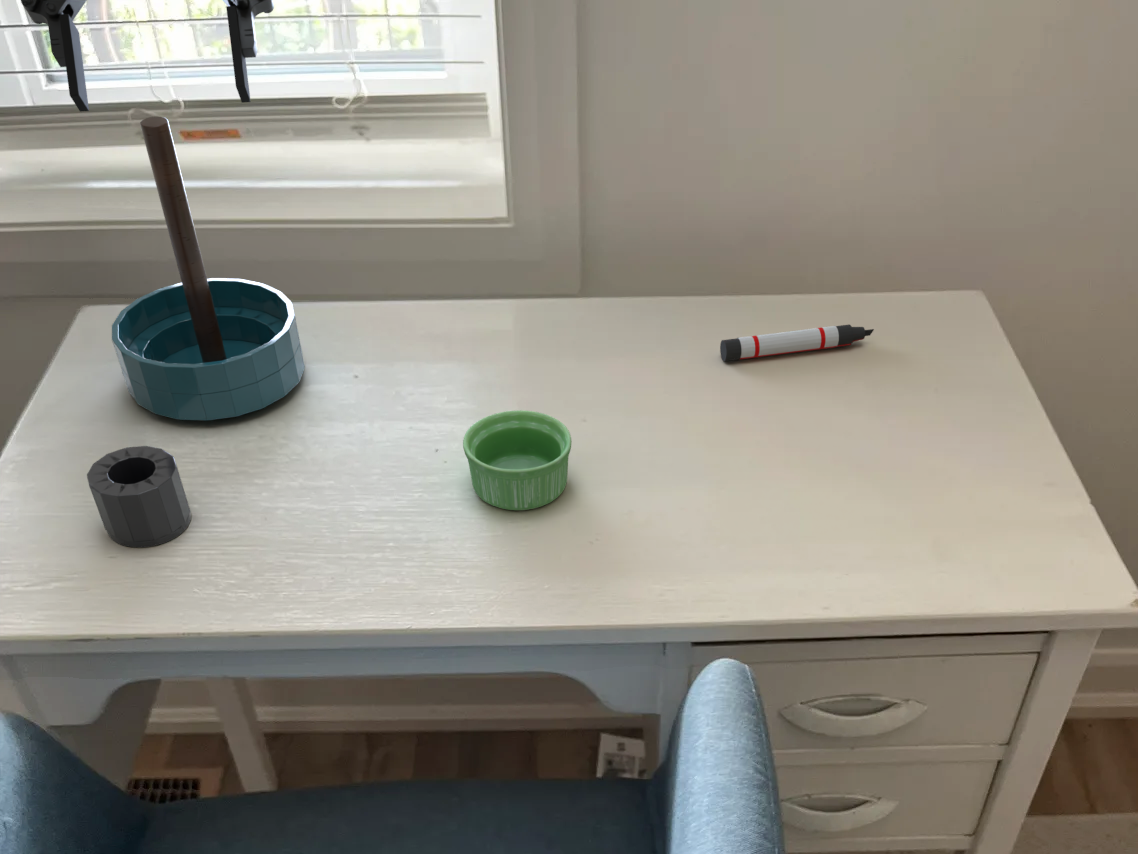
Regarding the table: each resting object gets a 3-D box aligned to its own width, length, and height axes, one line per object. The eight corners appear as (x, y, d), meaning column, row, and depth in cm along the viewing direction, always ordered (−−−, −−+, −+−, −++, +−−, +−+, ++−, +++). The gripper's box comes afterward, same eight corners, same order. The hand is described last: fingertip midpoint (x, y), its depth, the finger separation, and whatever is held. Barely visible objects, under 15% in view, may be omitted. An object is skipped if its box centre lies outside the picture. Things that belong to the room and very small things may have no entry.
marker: (725, 365, 114) (727, 345, 113) (719, 355, 116) (721, 335, 114) (875, 346, 117) (878, 327, 115) (867, 336, 118) (871, 317, 116)
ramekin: (507, 443, 106) (504, 398, 102) (592, 475, 103) (592, 430, 99) (445, 493, 101) (440, 448, 98) (533, 529, 98) (531, 483, 94)
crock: (94, 546, 96) (74, 494, 92) (122, 495, 101) (103, 444, 97) (177, 549, 96) (161, 497, 92) (201, 498, 100) (186, 446, 97)
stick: (203, 378, 112) (136, 126, 95) (209, 366, 113) (144, 115, 96) (226, 379, 111) (163, 127, 95) (232, 366, 113) (171, 116, 96)
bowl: (107, 425, 108) (86, 364, 103) (160, 334, 118) (143, 275, 114) (284, 431, 107) (271, 369, 103) (321, 339, 118) (310, 280, 113)
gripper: (286, -137, 105) (315, 112, 106) (-8, -127, 102) (26, 128, 104) (273, -202, 97) (304, 67, 99) (-45, -192, 95) (-8, 83, 96)
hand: (162, 99), depth 101 cm, fingers open, 13 cm apart
